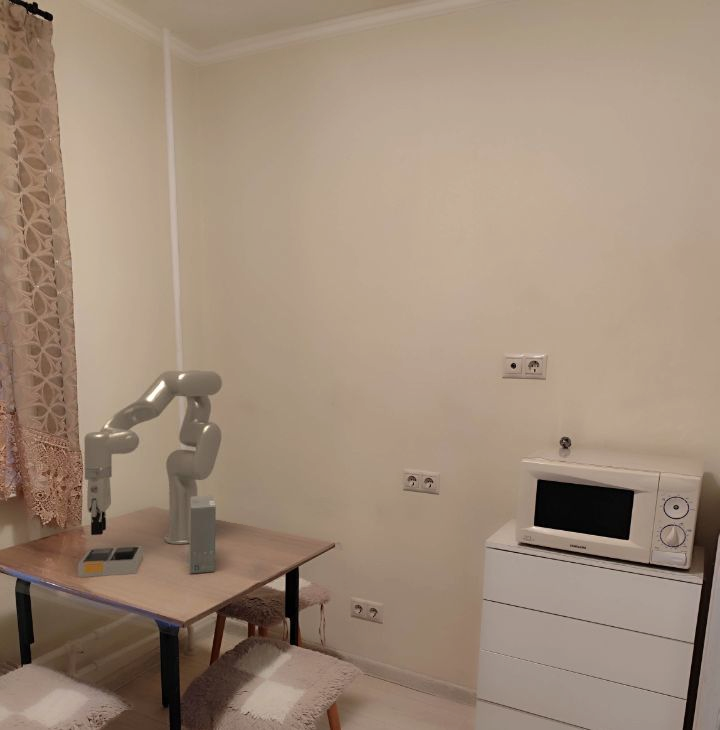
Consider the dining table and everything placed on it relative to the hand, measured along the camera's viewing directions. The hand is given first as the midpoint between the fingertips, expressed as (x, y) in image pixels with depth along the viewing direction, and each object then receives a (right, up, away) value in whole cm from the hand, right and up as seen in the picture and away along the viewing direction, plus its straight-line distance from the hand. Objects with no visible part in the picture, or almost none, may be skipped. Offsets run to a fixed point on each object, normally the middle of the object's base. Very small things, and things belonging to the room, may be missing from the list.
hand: (98, 531), depth 176 cm
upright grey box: (+1, -10, +1) cm, 10 cm away
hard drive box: (+31, -12, +4) cm, 33 cm away
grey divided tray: (+4, -11, +1) cm, 12 cm away
